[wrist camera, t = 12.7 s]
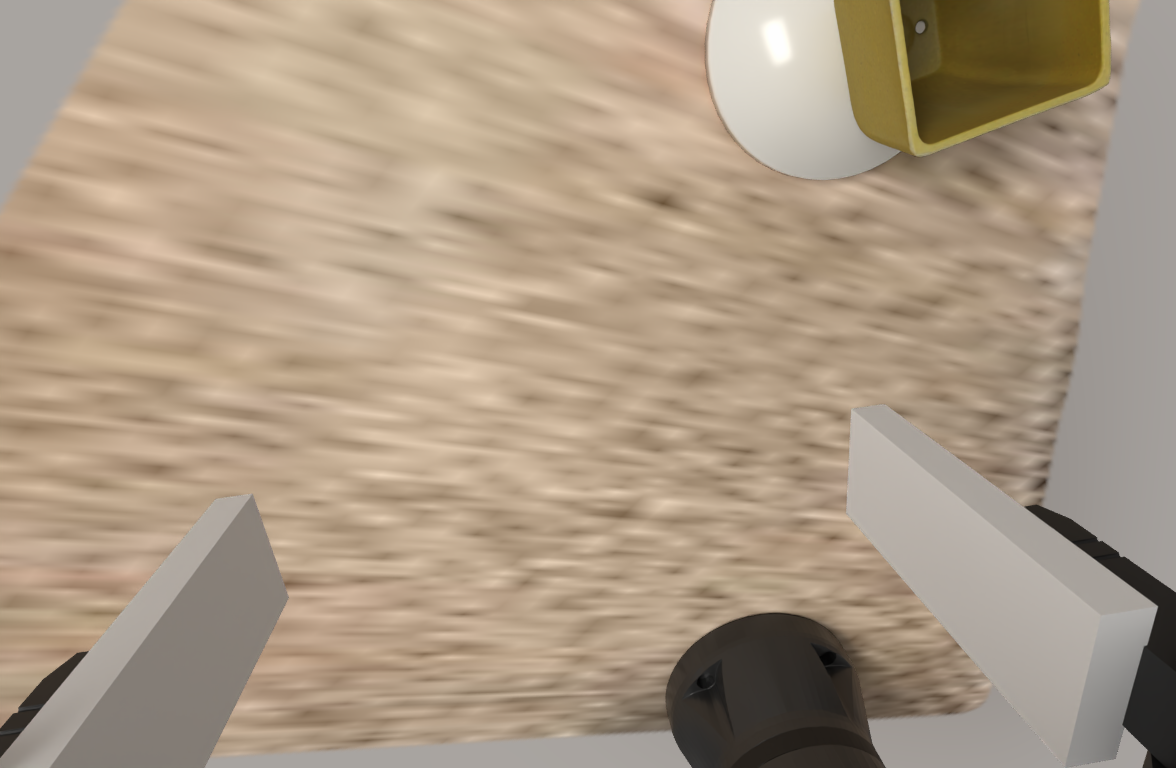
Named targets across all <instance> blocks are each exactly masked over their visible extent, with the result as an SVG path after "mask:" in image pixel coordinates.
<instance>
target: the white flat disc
mask: <svg viewBox="0 0 1176 768" xmlns="http://www.w3.org/2000/svg"><path fill="white" fill-rule="evenodd" d="M924 29H925V24H924V22H923V21H920V22H918V23H917V25H916V32H917V33H922V32H923V31H924ZM705 68H706V76H707V82H708V86H709V91H710V95H711V98H712V101H713V104H714V106H715V109H716V111H717V114H718V116H719V118H720V120H721V121H722V123H723V125H724V127H725V129H726V130H727V132H728V133H729V134H730V136H731V137H732V138H733V140H734V141H735V142H736V143H737V144H738V145H739V146H740V147H741V148H742V149H743V150H744V151H745V152H746V153H747V154H748V155H749V156H751V157H752V158H753V159H755V160H756V161H757V162H759V163H760V164H762V165H764V166H766V167H768V168H770V169H771V170H774V171H777V172H780V173H782V174H785V175H790V176H795V177H800V178H805V179H814V180H830V179H840V178H845V177H849V176H854V175H857V174H860V173H862V172H865V171H868V170H871V169H873V168H874V167H876V166H878V165H880V164H882V163H884V162H886V161H888V160H889V159H890V158H892V157H893V156H895V155H896V154H898V153H899V152H901V151H899V150H897V149H894V148H891V147H888V146H885V145H883V144H880V143H878V142H876V141H874V140H872V139H870V138H868V137H867V136H866V135H865V134H864V133H863V132H862V131H861V130H860V128H859V126H858V125H857V122H856V120H855V118H854V114H853V111H852V106H851V101H850V94H849V88H848V83H847V76H846V71H845V65H844V59H843V53H842V48H841V42H840V36H839V30H838V25H837V19H836V14H835V8H834V0H713V1H712V3H711V7H710V12H709V16H708V21H707V27H706V36H705Z"/></svg>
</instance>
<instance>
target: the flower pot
mask: <svg viewBox="0 0 1176 768" xmlns="http://www.w3.org/2000/svg"><path fill="white" fill-rule="evenodd" d="M834 8H835V14H836V19H837V25H838V30H839V36H840V42H841V48H842V53H843V59H844V65H845V71H846V76H847V83H848V88H849V94H850V101H851V106H852V111H853V114H854V118H855V120H856V122H857V125H858V126H859V128H860V130H861V131H862V132H863V133H864V134H865V135H866V136H867V137H868V138H870V139H872V140H874V141H876V142H878V143H880V144H883V145H885V146H888V147H891V148H894V149H897V150H899V151H902V152H905V153H908V154H911V155H914V156H916V157H923V156H927V155H930V154H933V153H936V152H938V151H941V150H943V149H946V148H949V147H951V146H954V145H957V144H959V143H962V142H964V141H967V140H970V139H972V138H975V137H977V136H980V135H983V134H985V133H988V132H990V131H993V130H996V129H999V128H1001V127H1004V126H1007V125H1009V124H1012V123H1015V122H1017V121H1019V120H1022V119H1025V118H1028V117H1030V116H1033V115H1036V114H1039V113H1041V112H1044V111H1047V110H1049V109H1052V108H1054V107H1057V106H1060V105H1063V104H1066V103H1069V102H1072V101H1075V100H1077V99H1080V98H1082V97H1085V96H1088V95H1090V94H1092V93H1094V92H1096V91H1098V90H1100V89H1102V88H1103V87H1105V86H1106V85H1107V84H1108V83H1109V80H1110V74H1111V37H1110V19H1109V0H834ZM920 21H923V22H924V24H925V29H924V31H923V32H922V33H917V32H916V25H917V23H918V22H920Z"/></svg>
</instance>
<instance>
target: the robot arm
mask: <svg viewBox="0 0 1176 768" xmlns="http://www.w3.org/2000/svg"><path fill="white" fill-rule="evenodd" d="M846 514H847V515H848V516H849V517H850V519H851V520H852V521H853V522H854V523H855V524H856V526H857V527H858V528H859V529H860V530H861V531H862V533H863V534H864V535H865V536H866V537H867V538H868V540H869V541H870V542H871V543H872V544H873V545H874V547H875V548H876V549H877V550H878V551H879V552H880V553H881V555H882V556H883V557H884V558H885V559H886V560H887V562H888V563H889V564H890V565H891V566H892V567H893V569H894V570H895V571H896V572H897V573H898V574H899V576H900V577H901V578H902V579H903V580H904V581H905V583H906V584H907V585H908V586H909V587H910V588H911V590H912V591H913V592H914V593H915V594H916V595H917V597H918V598H919V599H920V600H921V601H922V602H923V603H924V605H925V606H926V607H927V608H928V609H929V610H930V612H931V613H932V614H933V615H934V616H935V617H936V619H937V620H938V621H939V622H940V623H941V624H942V626H943V627H944V628H945V629H946V630H947V631H948V633H949V634H950V635H951V636H952V637H953V638H954V640H955V641H956V642H957V643H958V644H959V645H960V647H961V648H962V649H963V650H964V651H965V652H966V653H967V655H968V656H969V657H970V658H971V659H972V660H973V662H974V663H975V664H976V665H977V666H978V667H979V669H980V670H981V671H982V672H983V673H984V674H985V676H986V677H987V678H988V679H989V680H990V681H991V683H992V684H993V685H994V686H995V687H996V688H997V690H998V691H999V692H1000V693H1001V694H1002V695H1003V697H1004V698H1005V699H1006V700H1007V701H1008V702H1009V703H1010V705H1011V706H1012V707H1013V708H1014V709H1015V710H1016V712H1017V713H1018V714H1019V715H1020V716H1021V717H1022V719H1023V720H1024V721H1025V722H1026V723H1027V724H1028V726H1029V727H1030V728H1031V729H1032V730H1033V731H1034V733H1036V735H1037V736H1038V737H1039V738H1040V740H1042V742H1043V743H1044V744H1045V745H1046V746H1047V748H1048V749H1049V750H1050V751H1051V752H1052V753H1053V755H1054V756H1055V757H1056V758H1057V759H1058V760H1059V762H1060V763H1061V764H1062V765H1063V766H1064V767H1065V768H1067V767H1072V766H1078V765H1083V764H1089V763H1095V762H1101V761H1106V760H1112V759H1115V758H1116V755H1117V752H1118V748H1119V744H1120V740H1121V737H1122V734H1123V730H1124V727H1125V728H1126V729H1127V730H1128V731H1129V732H1130V733H1131V734H1132V735H1133V736H1134V737H1135V738H1136V739H1137V740H1138V741H1139V742H1140V743H1141V744H1142V745H1143V746H1144V747H1145V748H1146V749H1147V750H1148V751H1147V755H1146V758H1145V761H1144V764H1143V768H1176V592H1174V591H1173V590H1171V589H1170V588H1169V587H1167V586H1166V585H1164V584H1163V583H1161V582H1160V581H1159V580H1157V579H1155V578H1154V577H1153V576H1151V575H1150V574H1149V573H1147V572H1146V571H1144V570H1143V569H1141V568H1140V567H1138V566H1137V565H1136V564H1134V563H1133V562H1131V561H1130V560H1129V559H1127V558H1126V557H1120V556H1119V552H1117V551H1116V550H1114V549H1113V548H1111V547H1110V546H1109V545H1107V544H1106V543H1104V542H1103V541H1100V542H1099V541H1098V540H1097V537H1096V536H1094V535H1093V534H1091V533H1090V532H1088V531H1087V530H1086V529H1084V528H1083V527H1081V526H1080V525H1078V524H1077V523H1076V522H1074V521H1073V520H1071V519H1069V518H1067V517H1065V516H1062V515H1060V514H1058V513H1055V512H1053V511H1050V510H1048V509H1046V508H1044V507H1041V506H1039V505H1032V506H1025V507H1023V506H1022V505H1020V504H1019V503H1018V502H1016V501H1015V500H1014V499H1012V498H1011V497H1010V496H1008V495H1007V494H1005V493H1004V492H1003V491H1001V490H1000V489H999V488H997V487H996V486H995V485H993V484H992V483H991V482H989V481H988V480H987V479H985V478H984V477H983V476H981V475H980V474H978V473H977V472H976V471H974V470H973V469H972V468H970V467H969V466H968V465H966V464H965V463H964V462H962V461H961V460H960V459H958V458H957V457H955V456H954V455H953V454H951V453H950V452H949V451H947V450H946V449H945V448H943V447H942V446H941V445H939V444H938V443H937V442H935V441H934V440H933V439H931V438H930V437H928V436H927V435H926V434H924V433H923V432H922V431H920V430H919V429H918V428H916V427H915V426H914V425H912V424H911V423H910V422H908V421H907V420H906V419H904V418H903V417H901V416H900V415H899V414H897V413H896V412H895V411H893V410H892V409H891V408H889V407H888V406H887V405H885V404H881V405H874V406H867V407H860V408H853V409H851V428H850V448H849V468H848V488H847V508H846ZM288 598H289V597H288V594H287V591H286V588H285V585H284V582H283V579H282V576H281V574H280V571H279V568H278V565H277V562H276V559H275V556H274V554H273V551H272V548H271V545H270V542H269V539H268V536H267V533H266V531H265V528H264V525H263V522H262V519H261V516H260V513H259V510H258V508H257V505H256V502H255V499H254V496H253V494H247V495H240V496H233V497H226V498H219V499H215V501H214V502H213V503H212V504H211V505H210V507H209V508H208V509H207V510H206V511H205V513H204V514H203V515H202V516H201V517H200V519H199V520H198V521H197V522H196V523H195V525H194V526H193V527H192V528H191V529H190V531H189V532H188V533H187V534H186V535H185V537H184V538H183V539H182V540H181V541H180V543H179V544H178V545H177V546H176V547H175V549H174V550H173V551H172V552H171V553H170V555H169V556H168V557H167V558H166V559H165V561H164V562H163V563H162V564H161V565H160V567H159V568H158V569H157V570H156V571H155V573H154V574H153V575H152V576H151V577H150V579H149V580H148V581H147V582H146V584H145V585H144V586H143V587H142V588H141V590H140V591H139V592H138V593H137V594H136V596H135V597H134V598H133V599H132V600H131V602H130V603H129V604H128V605H127V606H126V608H125V609H124V610H123V611H122V612H121V614H120V615H119V616H118V617H117V618H116V620H115V621H114V622H113V623H112V624H111V626H110V627H109V628H108V629H107V630H106V632H105V633H104V634H103V635H102V636H101V638H100V639H99V640H98V641H97V642H96V644H95V645H94V646H93V647H92V648H91V650H90V651H87V652H81V653H77V654H75V655H74V656H73V657H71V658H70V659H69V660H68V661H66V662H65V663H64V664H62V665H61V666H60V667H59V668H57V669H56V670H55V671H53V672H52V673H51V674H49V675H48V676H47V677H46V678H44V679H43V680H42V681H41V682H40V684H39V685H38V686H37V687H36V688H35V689H34V690H33V692H32V693H31V694H30V695H29V696H28V697H27V698H26V700H25V701H24V702H23V703H22V704H21V705H20V706H19V708H18V709H19V710H18V713H14V714H12V716H11V717H10V718H9V719H8V720H7V721H6V723H5V724H4V725H3V726H2V727H1V728H0V768H204V767H205V765H206V763H207V761H208V759H209V757H210V755H211V753H212V751H213V749H214V747H215V745H216V743H217V741H218V739H219V737H220V735H221V733H222V731H223V729H224V727H225V725H226V723H227V721H228V719H229V717H230V715H231V713H232V711H233V709H234V707H235V705H236V703H237V701H238V699H239V697H240V695H241V693H242V691H243V689H244V687H245V685H246V683H247V681H248V679H249V677H250V675H251V673H252V671H253V669H254V667H255V665H256V663H257V661H258V659H259V657H260V655H261V653H262V651H263V649H264V647H265V645H266V643H267V641H268V639H269V637H270V635H271V633H272V631H273V629H274V627H275V625H276V623H277V621H278V619H279V617H280V614H281V612H282V610H283V608H284V606H285V604H286V602H287V600H288ZM666 709H667V713H668V717H669V721H670V725H671V729H672V733H673V736H674V738H675V741H676V743H677V745H678V747H679V748H680V750H681V752H682V753H683V754H684V756H685V757H686V759H687V760H688V762H689V764H690V765H691V767H692V768H886V767H885V766H884V764H883V762H882V760H881V759H880V757H879V755H878V754H877V752H876V750H875V748H874V746H873V744H872V740H871V735H870V730H869V725H868V721H867V716H866V711H865V706H864V701H863V697H862V692H861V687H860V682H859V678H858V675H857V672H856V670H855V668H854V666H853V664H852V662H851V660H850V659H849V657H848V655H847V654H846V652H845V651H844V649H843V647H842V646H841V644H840V643H839V641H838V640H837V639H836V637H835V636H834V635H833V634H832V633H831V632H829V631H828V630H827V629H826V628H824V627H823V626H821V625H819V624H817V623H815V622H813V621H811V620H808V619H805V618H802V617H798V616H793V615H785V614H766V615H757V616H752V617H747V618H743V619H740V620H737V621H734V622H731V623H729V624H726V625H724V626H722V627H720V628H718V629H716V630H714V631H712V632H711V633H709V634H707V635H706V636H704V637H703V638H702V639H700V640H699V641H698V642H696V643H695V644H694V645H693V646H692V647H691V648H690V649H689V650H688V651H687V652H686V653H685V654H684V655H683V657H682V658H681V659H680V660H679V662H678V663H677V665H676V666H675V668H674V670H673V672H672V674H671V676H670V679H669V682H668V685H667V689H666Z"/></svg>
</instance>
